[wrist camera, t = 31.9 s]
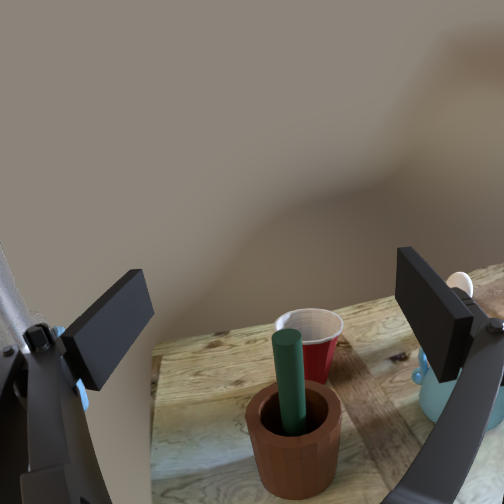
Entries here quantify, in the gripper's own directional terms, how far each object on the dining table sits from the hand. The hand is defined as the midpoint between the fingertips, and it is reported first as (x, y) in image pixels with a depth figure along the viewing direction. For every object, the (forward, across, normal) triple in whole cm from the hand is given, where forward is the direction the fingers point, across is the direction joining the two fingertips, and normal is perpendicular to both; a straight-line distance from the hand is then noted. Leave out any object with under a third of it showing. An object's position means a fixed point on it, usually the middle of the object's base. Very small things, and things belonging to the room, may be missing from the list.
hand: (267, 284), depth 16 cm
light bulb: (+41, +35, -32) cm, 63 cm away
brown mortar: (+9, 0, -32) cm, 33 cm away
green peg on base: (+9, 0, -31) cm, 32 cm away
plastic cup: (+28, +2, -32) cm, 43 cm away
